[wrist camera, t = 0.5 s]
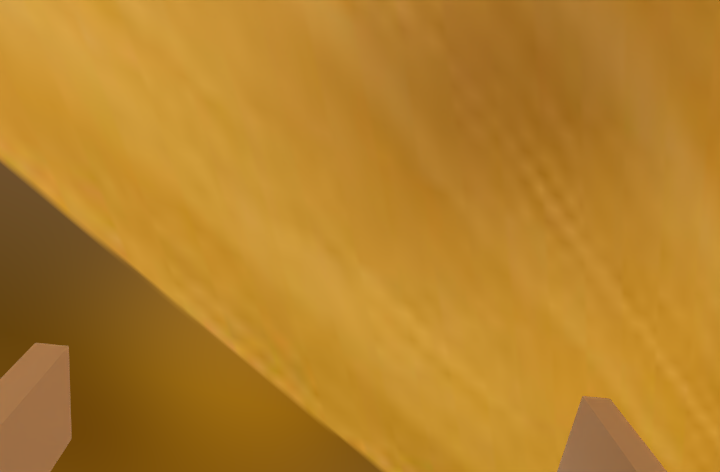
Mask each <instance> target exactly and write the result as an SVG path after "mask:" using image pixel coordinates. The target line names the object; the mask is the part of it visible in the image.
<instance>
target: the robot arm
mask: <svg viewBox="0 0 720 472" xmlns="http://www.w3.org/2000/svg"><path fill="white" fill-rule="evenodd" d="M70 440H71V406H70V375H69V346H63V345H51V344H42V343H35V344H34V345H33V346H32V347H31V348H30V349H29V350H28V351H27V352H26V353H25V354H24V355H23V356H22V357H21V358H20V359H19V360H18V361H17V363H15V365H14V366H13V367H12V368H11V369H10V370H9V371H8V372H7V373H6V374H5V375H4V376H3V377H2V378H1V379H0V472H50V471H51V470H52V468H53V467H54V465H55V463H56V462H57V460H58V459H59V457H60V456H61V454H62V453H63V451H64V450H65V448H66V446H67V445H68V443H69V442H70ZM557 472H667V471H666V470H665V469H664V467H663V466H662V465H661V463H660V462H659V461H658V460H657V458H656V457H655V456H654V455H653V453H652V452H651V451H650V449H649V448H648V447H647V446H646V444H645V443H644V442H643V441H642V439H641V438H640V437H639V435H638V434H637V433H636V432H635V430H634V429H633V428H632V426H631V425H630V424H629V423H628V421H627V420H626V419H625V418H624V416H623V415H622V414H621V412H620V411H619V410H618V409H617V407H616V406H615V405H614V404H613V402H612V401H611V400H610V399H607V398H597V397H587V396H582V399H581V402H580V405H579V408H578V411H577V414H576V417H575V420H574V423H573V426H572V429H571V432H570V435H569V438H568V441H567V444H566V447H565V450H564V453H563V456H562V459H561V462H560V465H559V468H558V471H557Z"/></svg>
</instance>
